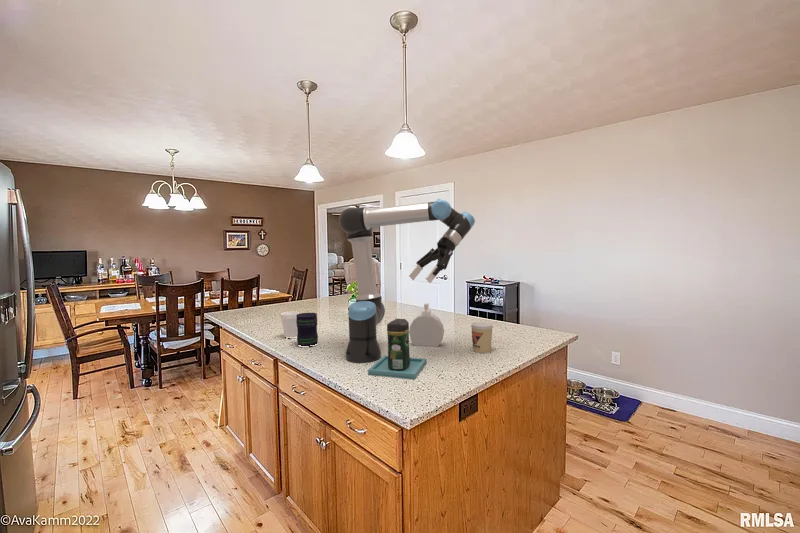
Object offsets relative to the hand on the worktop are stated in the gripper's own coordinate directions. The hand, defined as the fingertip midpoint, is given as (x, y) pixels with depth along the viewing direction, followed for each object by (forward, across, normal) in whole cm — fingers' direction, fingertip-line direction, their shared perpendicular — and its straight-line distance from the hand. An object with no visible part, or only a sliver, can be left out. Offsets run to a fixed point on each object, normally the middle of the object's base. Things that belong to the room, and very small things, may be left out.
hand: (419, 279), depth 153 cm
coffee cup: (+3, -4, -45) cm, 45 cm away
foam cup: (+52, +65, +4) cm, 84 cm away
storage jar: (+49, +47, +1) cm, 68 cm away
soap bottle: (+14, +17, -34) cm, 40 cm away
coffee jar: (+33, -6, -14) cm, 36 cm away
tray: (+33, -6, -14) cm, 37 cm away
